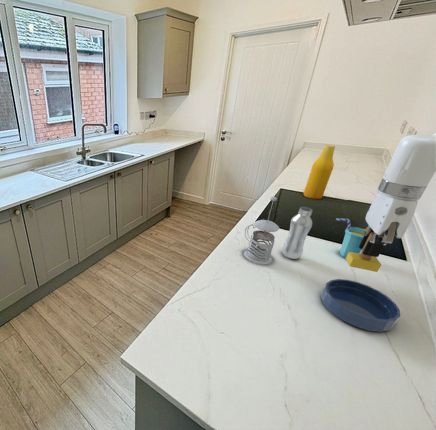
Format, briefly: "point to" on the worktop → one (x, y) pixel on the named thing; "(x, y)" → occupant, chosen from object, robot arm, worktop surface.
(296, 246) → the silver metal bottle
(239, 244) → the worktop surface
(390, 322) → the bowl
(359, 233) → the cup
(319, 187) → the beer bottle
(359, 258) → the rubber stamp
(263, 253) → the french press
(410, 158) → the robot arm
